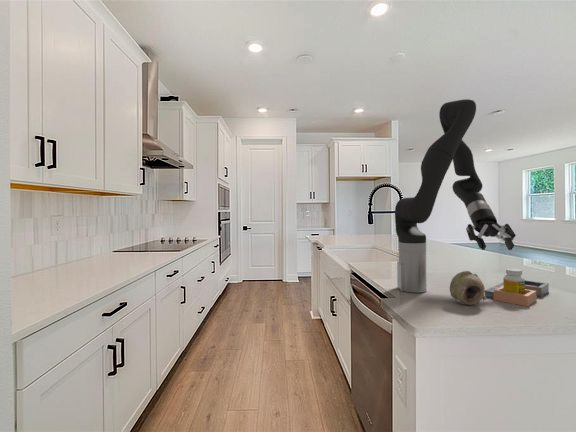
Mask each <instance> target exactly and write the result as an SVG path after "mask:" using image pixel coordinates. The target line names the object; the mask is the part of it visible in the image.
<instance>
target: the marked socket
mask: <svg viewBox="0 0 576 432" xmlns="http://www.w3.org/2000/svg"><path fill="white" fill-rule="evenodd" d="M493 300H495V301H500V302H504V303H508V304H514V305H519V306H523V305H524V307H529V306H531V305H532V304H534V303H535V302H536V301H537V296H536V291H533V290H527V289H525V295H522V294H517V293H511V292H505V291H504V286H502V287H500V288H497V289H495V290H494V298H493ZM530 304H531V305H530Z"/></svg>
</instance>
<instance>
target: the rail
mask: <svg viewBox="0 0 576 432" xmlns="http://www.w3.org/2000/svg"><path fill="white" fill-rule="evenodd" d="M549 284H550V283H548V282H541V281H533V280H527V279H525V289H527V290H533V291H536V297H538V298H542V297H544V296H546V295H547V294H548V293H550V292H549V289H550V288H549V287H550V286H549ZM502 286H504V283H503V282H501V283H499V284H496V285H494V286H492V287H490V288H487V289H486V290H485V292H484V296H485V297H486V298H489V299H494V290H495V289H497V288H500V287H502Z"/></svg>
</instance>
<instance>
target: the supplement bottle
mask: <svg viewBox="0 0 576 432" xmlns="http://www.w3.org/2000/svg"><path fill="white" fill-rule="evenodd" d="M505 273H506V275H503V278H502V279H503V282H502V283H504V291H505V292H511V293H517V294H522V295H525V280H526V279H525V278H524V277H523V276H522V275H523V270H522V269H519V268H506V269H505Z"/></svg>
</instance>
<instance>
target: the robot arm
mask: <svg viewBox="0 0 576 432" xmlns="http://www.w3.org/2000/svg"><path fill="white" fill-rule="evenodd" d="M476 112H477V104H476V101H475V100H473V99H471V98H465V99H459V100H458V99H457V100H453V101H448V102H445V103H443V104H442V105H441V107H440V109H439V114H438V115H439V116H438V117H439V122H440V125H441V128H442V131H443V135H441V136H440V137H439V138H438V139H436V140H435V141H434V142H433V143H432V144H431V145H430V146H429V147H428V148H427V150H426V152H425V154H424V156H423V159H422V161H421V164H420V174H421V184H420V187H419V189H418V191H417V193H416V194H415V195H414V196H413V197H411V196H410V197H404V198H401V199H399V200H398V201H397V203H396V204H395V209H394V220H395V221H394V223H395V232H396V235H397V239H398V240H397V241H398V261H397V263H396V268H397V269H396V272H397V275H396V276H397V278H396V279H397V288H398V290H400V291H401V292H407V293H418V294H419V293H425V292H426V291H427V286H428V285H427V236H426V233H424V232H422V231H421V230H420V229H419V227H418V224H422V223H425V222H427V220H429V218H430V216H431V215H432V212H433V209H434V206H435V203H436V200H437V197H438V194H439V190H440V188H441V187H442V183H443V182H444V179H445V176H446V175H447V172H448V170H449V169H450V166H451V164H452V163H453V168H454V173H455V175H456V176H458V177H466V178H462V179H458V180H456V181H454V182H453V184H452V187H451V188H452V191H453V193H454V194H455V196H456V197H457V198H458V199H460V201H461V202H463V204H464V205H465V208H466V210H467V214H468V217H469V219H470V220H471V223H468V224H467V226H466V228H465V230H466V233H467V236H468V240H469V241H470V242H471V241H475V242H476V243H477V244H476V245H477V246H478V248H479V249H481V250H482V251H483V250H484V251H485V249H487V244H486V242H485V240H484V238H483V237H485V238H488V237H492V238H493V237H494V238H497V239H498V240H502V241H503V242H504V244H505V246H506V248H507V250H508V251H512V250H513V248H514V247H515V243H513V241H514V239H515V238H516V236H517V235H516V233H515V232H514V230H513V228H512V227H511V225H509V223H505V224H504V225H500V224H499V222H498V220H497V217H496V216H495V213H494V212H493V210H492V208H491V206H490V205H489V204H488V203H487V201H486V199H485V196H484V195H483V194H482V193H481V191H482V189H483V183H482V180H481V179H480V177H479V176H478V174H477V171H476V167H475V162H474V156H473V153H472V150H471V149H470V147H469V145H467V143H466V142H465V141H464V140H463V138H464V137H465V134H466V133H467V132H468V130H469V128H470V126H471V125H472V123H473V121H474V118H475V116H476ZM475 231H476V232H477V233H478V235H476V234H475Z"/></svg>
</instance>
